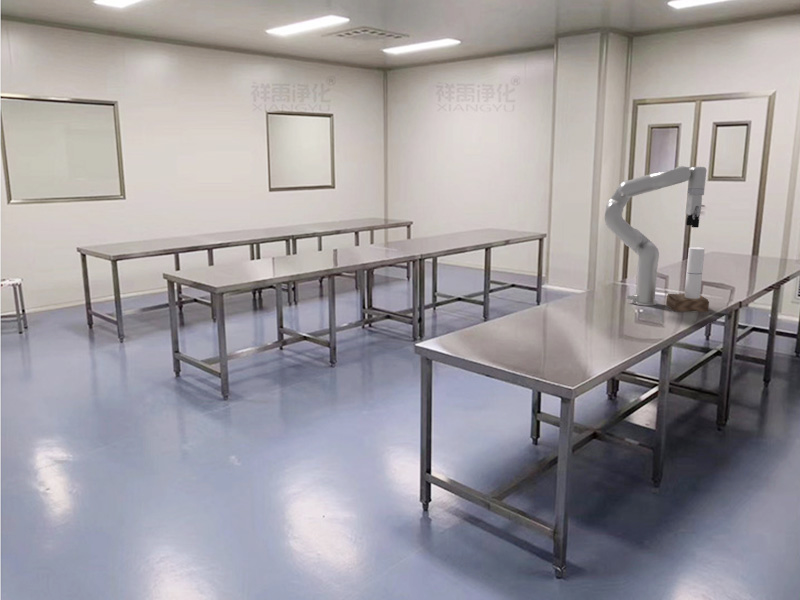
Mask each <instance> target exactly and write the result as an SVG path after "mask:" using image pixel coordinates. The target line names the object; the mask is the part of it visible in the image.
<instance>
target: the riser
mask: <svg viewBox="0 0 800 600" xmlns="http://www.w3.org/2000/svg"><path fill="white" fill-rule="evenodd" d="M684 295H685V293H668V294H667V295H666V300H665V303H666V304H665V305H666V306H667V307H669V309H671V310H672V311H674V312H686V311H689V313H691V312H690V311H698V312H697V313H699V312H700V313H702V312H704V313H706V311H707V313H708V312H709V309H710V308H709V307H710V301H709V299H707V298H706V297H704V296H702V294H700V298H698V299H691V298H686V297H684Z"/></svg>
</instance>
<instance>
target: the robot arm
mask: <svg viewBox="0 0 800 600" xmlns="http://www.w3.org/2000/svg"><path fill="white" fill-rule="evenodd" d="M706 176H707V168H706V167H704V166H692V167H691V166H683V165H680V166H677V167H674V169H670V170H666V171H662V172H657V173H656V172H655V173H650V174H646V175H643V176H639V177H636V178H632V179H629V180H623V181H622V182H621V183H620V184H619V185H618V187H617V188H616V190H615V191H614V193H613V195H612V196H611V197H610V199H609V200H608V202H607V203H606V205H605V212H604V222H605V225H606V226H607V228H608V229H609V230H610V231H611V232H612V233H613V234H614V235H615V236H616V237H617V238H618V239H619V240H621V241H622V242H623V244H624V245H625V246H626V247H628V248H630V249H631V251H633V252H634V253H635V254H636V255H638V261H637V273H636V288H635V293H634V294H633V295H626V296H625V298H626V300H630V301H631V302H632V304H634V305H637V306H638V305H639V306H644V307H646V306H647V307H648V306H649V307H652V306H656V305H659V302H658V301H657V300H655V299H656V289H657V288H656V287H657V275H658V265H659V258H660V252H659V248H658V247H657V245H655V244H654V243H653V241H651V240H650V239H649V237H647V236H646V235H644V234H643V233H642V232H641V231H640V230H638V229H637V228H634V227H633V226H632V225H631V224H629V223H628V222H627V221H626V220H625V219H624V217H623V215H622V214H623V212H624V208H625V206H626V205H627V204H628V202H629V201H630V199H631V198H632V197H636V196H639V195H643V194H645V193H646V194H647V193H649V192H654V191H658V190H660V189H663V188H667V187H672V186H674V185H679V184H682V183H686V182H687V181H688V185H687V194H686V195H688V196H687V201H686V207H685V214H686V215H687V216H686V224H685V225H686V226H691V228H699V225H700V219H701V217H700V216H701V212H702V205H703V204H702V202H703V196H704V195H705V188H706V181H707V180H706V178H707V177H706Z"/></svg>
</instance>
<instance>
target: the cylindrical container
mask: <svg viewBox="0 0 800 600" xmlns="http://www.w3.org/2000/svg"><path fill="white" fill-rule="evenodd" d="M705 250H706V249H705V248H704V247H697V246H691V247H688V254H687V265H686V274H685V283H684V284H685V285H684V287H685V288H684V294H685V295H684V297H686V298H691V299H698V298H700V295H701V290H702V281H703V280H702V279H703V268H704V257H705Z"/></svg>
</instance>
